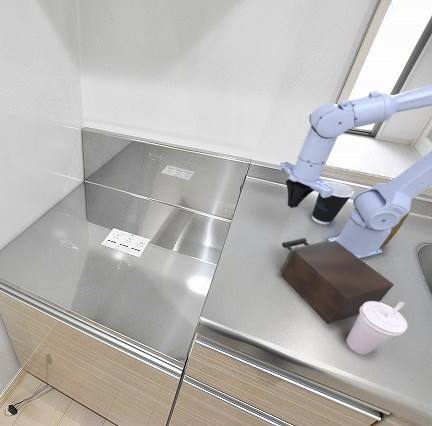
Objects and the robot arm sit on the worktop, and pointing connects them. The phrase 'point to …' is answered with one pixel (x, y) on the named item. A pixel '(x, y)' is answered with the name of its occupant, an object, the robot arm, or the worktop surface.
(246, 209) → the worktop surface
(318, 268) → the cabinet
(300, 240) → the drawer
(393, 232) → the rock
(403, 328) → the smoothie
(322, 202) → the dixie cup
